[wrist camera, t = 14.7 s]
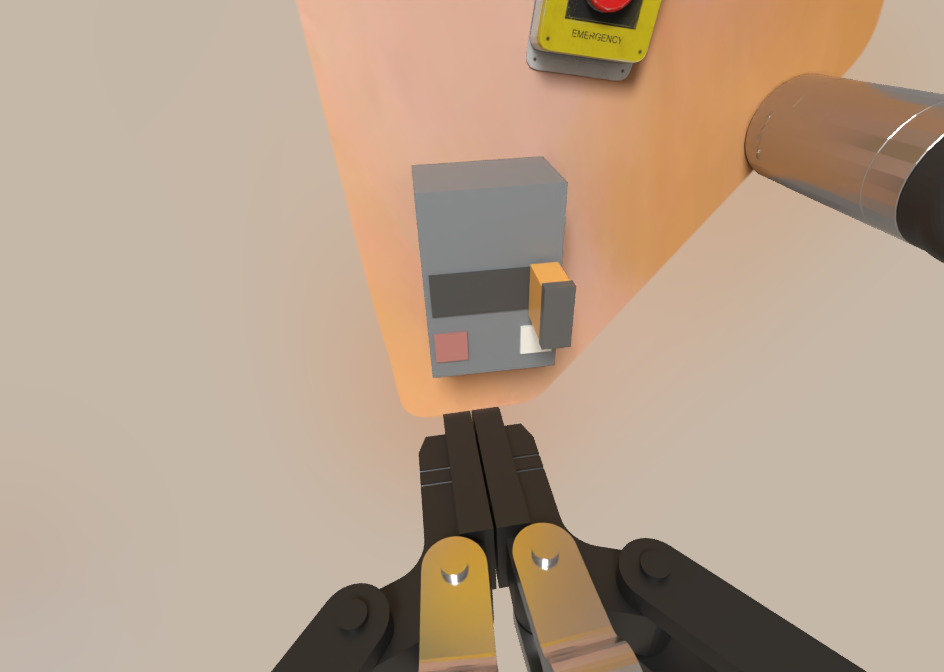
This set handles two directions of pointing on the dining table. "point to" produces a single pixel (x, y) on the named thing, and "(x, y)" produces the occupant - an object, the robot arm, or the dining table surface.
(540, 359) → the breaker box
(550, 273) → the breaker handle
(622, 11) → the emergency button
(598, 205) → the dining table surface
